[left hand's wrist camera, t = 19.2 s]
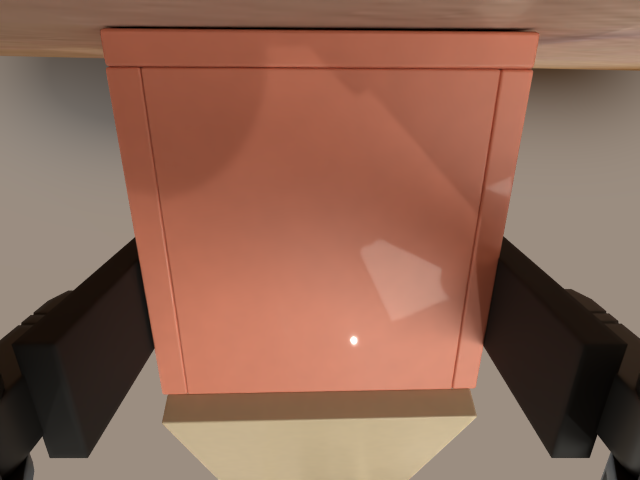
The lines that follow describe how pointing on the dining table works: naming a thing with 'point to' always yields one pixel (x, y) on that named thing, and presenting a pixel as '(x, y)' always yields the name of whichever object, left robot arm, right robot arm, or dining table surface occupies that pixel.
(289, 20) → the dining table surface
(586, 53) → the dining table surface
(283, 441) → the lid
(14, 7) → the dining table surface
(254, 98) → the chest
